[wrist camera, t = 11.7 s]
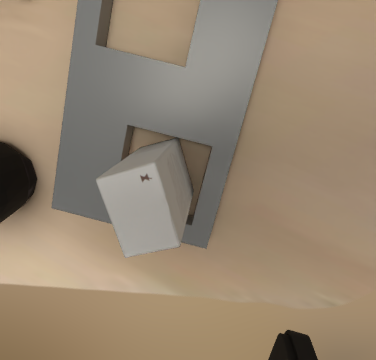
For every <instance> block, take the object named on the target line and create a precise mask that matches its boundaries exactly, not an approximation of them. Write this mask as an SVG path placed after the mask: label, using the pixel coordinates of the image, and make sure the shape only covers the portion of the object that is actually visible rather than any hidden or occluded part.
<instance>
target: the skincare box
mask: <svg viewBox="0 0 376 360" xmlns="http://www.w3.org/2000/svg"><path fill="white" fill-rule="evenodd" d="M96 182H97V185H98V188H99V191H100V193H101V196H102V199H103V201H104V204H105V207H106V209H107V212H108V215H109V217H110V220H111V222H112V225H113V227H114V230H115V233H116V235H117V238H118V241H119V243H120V246H121V249H122V251H123V254H124V257H125V258H127V257H131V256H137V255H142V254H147V253H152V252H157V251H162V250H167V249H172V248H177V247H180V245H181V241H182V237H183V233H184V229H185V225H186V221H187V217H188V213H189V209H190V204H191V200H192V197H193V192H194V191H193V187H192V183H191V180H190V176H189V173H188V170H187V166H186V163H185V159H184V156H183V152H182V149H181V145H180V142H179V138H174V139H170V140H166V141H162V142H159V143H155V144H152V145H148V146H145V147H141V148H139V149H138V150H136V151H135V152H133V153H132V154H130V155H129V156H128V157H126V158H125V159H123V160H122V161H121V162H119V163H118V164H116V165H115V166H113V167H112V168H111V169H109V170H108V171H106V172H105V173H103V174H102V175H101V176H99V177H98V178H97V179H96Z"/></svg>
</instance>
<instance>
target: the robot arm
mask: <svg viewBox="0 0 376 360" xmlns="http://www.w3.org/2000/svg"><path fill="white" fill-rule="evenodd" d="M268 360H318V359H317V356H316V354H315V351H314V348H313V345H312V342H311V340H310V338H309V336H308V335H305V334H302V333H298V332H295V331H291V330H287V331H286V332H285V333H284V334H281V333H280V334H279V335H278V336H277V339H276V342H275V344H274V346H273V349H272V352H271V354H270V357H269V359H268Z"/></svg>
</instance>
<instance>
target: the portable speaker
mask: <svg viewBox="0 0 376 360" xmlns="http://www.w3.org/2000/svg"><path fill="white" fill-rule="evenodd" d="M36 181H37V178H36V175H35V172H34V169H33V166H32V163H31V161H30V160H29V159H27V158H25V157H24V156H22V155H21V154H19V153H18V152H16V151H15V150H13V149H12V148H10V147H9V146H8V145H6V144H5V143H2V142H0V224H1V222H2V221H3V220H5V219H6V218H7V217H9V216H10V215H11V214H13V213H14V212H15V211H17V210H18V209H19V208H20V207H21V206H23V205H24V204H25V203H26V201H27V200H28V199H29V198H30V197H31V195H32V194H33V192H34V188H35V184H36Z"/></svg>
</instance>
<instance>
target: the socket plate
mask: <svg viewBox="0 0 376 360" xmlns="http://www.w3.org/2000/svg"><path fill="white" fill-rule="evenodd" d="M277 2H278V0H200V5H199V9H198V13H197V18H196V22H195V27H194V31H193V36H192V40H191V44H190V49H189V53H188V58H187V62H186V67H182V66H178V65H174V64H170V63H166V62H162V61H158V60H154V59H150V58H146V57H142V56H138V55H134V54H130V53H126V52H122V51H118V50H114V49H110V48H106V43H107V36H108V30H109V23H110V17H111V10H112V4H113V0H78V4H77V12H76V20H75V28H74V36H73V43H72V51H71V59H70V67H69V75H68V83H67V91H66V99H65V106H64V114H63V122H62V130H61V138H60V146H59V154H58V162H57V169H56V177H55V185H54V193H53V201H52V208H53V209H57V210H61V211H65V212H69V213H72V214H76V215H80V216H84V217H88V218H91V219H95V220H99V221H103V222H107V223H110V224H112V222H111V220H110V217H109V215H108V212H107V209H106V207H105V204H104V201H103V199H102V196H101V193H100V191H99V188H98V185H97V182H96V179H97V178H98V177H99V176H101V175H102V174H103V173H105V172H106V171H108V170H109V169H111V168H112V167H113V166H115V165H116V164H118V163H119V162H121V161H122V160H123V159H125V158H126V157H128V154H129V149H130V144H131V138H132V133H133V128H134V127H138V128H142V129H146V130H150V131H154V132H158V133H162V134H166V135H170V136H174V137H178V138H181V139H185V140H189V141H193V142H197V143H201V144H205V145H209V146H212V148H211V152H210V156H209V160H208V163H207V167H206V171H205V175H204V178H203V182H202V186H201V190H200V193H199V197H198V201H197V205H196V209H195V212H194V216H191V215H188V217H187V221H186V225H185V229H184V233H183V237H182V241H181V242H182V243H186V244H190V245H194V246H198V247H201V248H205V249H206V248H207V245H208V241H209V238H210V234H211V231H212V228H213V224H214V221H215V217H216V214H217V210H218V207H219V203H220V200H221V196H222V193H223V189H224V186H225V182H226V179H227V175H228V172H229V168H230V165H231V161H232V158H233V155H234V151H235V148H236V144H237V141H238V137H239V134H240V130H241V127H242V123H243V120H244V116H245V113H246V109H247V106H248V102H249V99H250V95H251V92H252V88H253V85H254V82H255V78H256V75H257V71H258V68H259V64H260V61H261V57H262V54H263V50H264V47H265V43H266V40H267V36H268V33H269V29H270V26H271V22H272V19H273V15H274V12H275V9H276V5H277Z"/></svg>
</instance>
